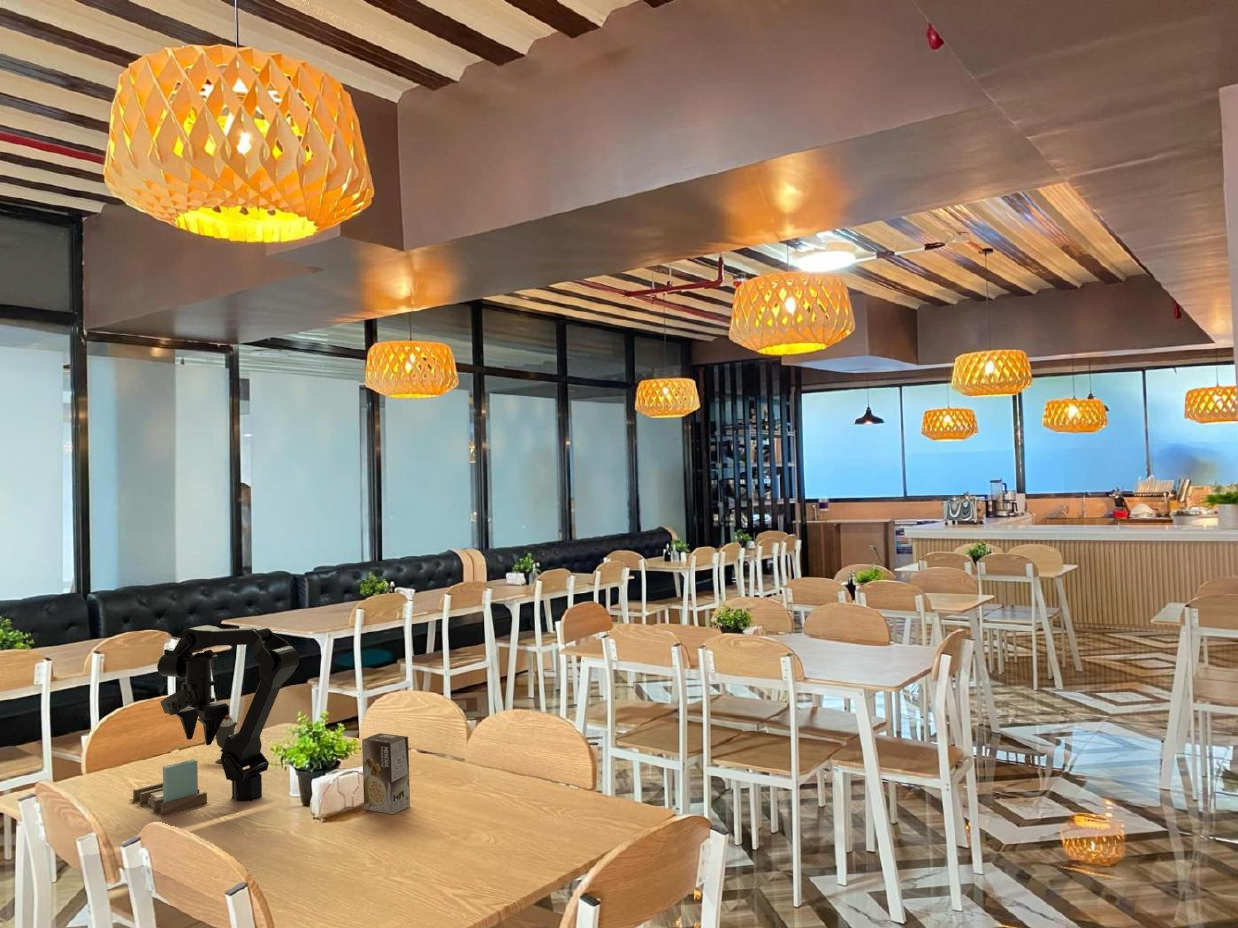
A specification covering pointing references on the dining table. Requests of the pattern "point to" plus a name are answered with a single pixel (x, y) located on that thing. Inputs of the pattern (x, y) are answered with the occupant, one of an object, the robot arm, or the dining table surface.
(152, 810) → the walnut rack
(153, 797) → the offcut stack
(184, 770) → the teal sheet
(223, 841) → the dining table surface
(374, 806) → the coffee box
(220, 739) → the sundae
